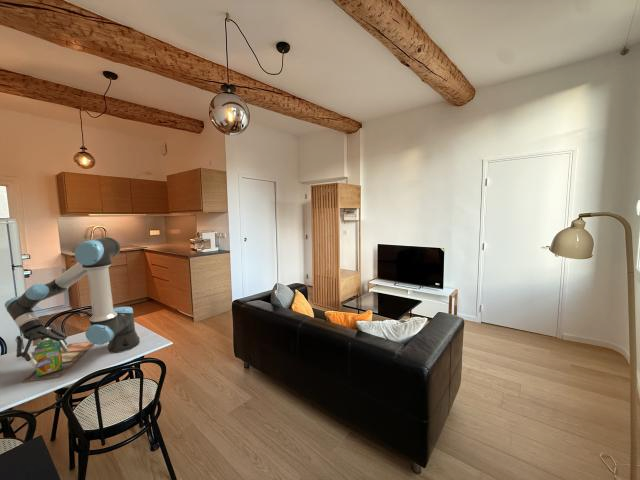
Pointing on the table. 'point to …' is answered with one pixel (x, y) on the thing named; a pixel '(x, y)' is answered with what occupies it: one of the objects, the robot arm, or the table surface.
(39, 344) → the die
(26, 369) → the table surface
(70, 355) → the board
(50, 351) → the chalk box
